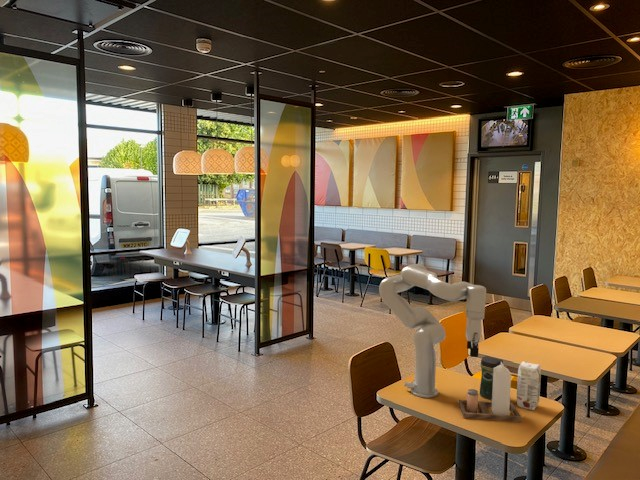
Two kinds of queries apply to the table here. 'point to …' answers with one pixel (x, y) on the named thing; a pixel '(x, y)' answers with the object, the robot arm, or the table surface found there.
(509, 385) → the milk
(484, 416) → the organizer
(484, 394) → the coffee jar
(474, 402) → the shaker
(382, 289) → the robot arm
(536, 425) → the table surface
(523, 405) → the juice carton
